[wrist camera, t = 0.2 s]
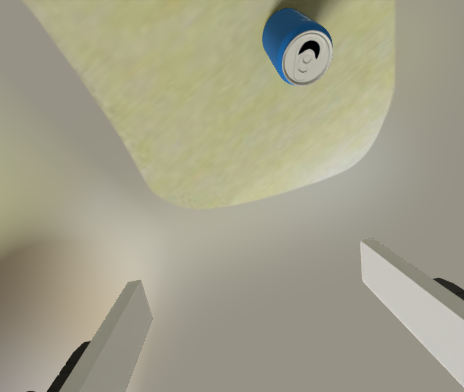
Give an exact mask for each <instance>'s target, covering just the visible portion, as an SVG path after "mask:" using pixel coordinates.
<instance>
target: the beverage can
mask: <svg viewBox="0 0 464 392" xmlns="http://www.w3.org/2000/svg"><path fill="white" fill-rule="evenodd" d="M262 41H263V47H264V49H265V51H266V53H267V55H268V56H269V58H270V60H271V61H272V63H273V65H274V67H275V68H276V70H277V72H278V73H279V75H280V76H281V78H282V79H283V80H284V81H285V82H287V83H289V84H291V85H296V86H306V85H310V84H312V83H314V82H316V81H317V80H319V79H320V78H321V77H322V76H323V75H324V74H325V72H326V71H327V69H328V68H329V66H330V63H331V60H332V55H333V46H332V39H331V37H330V34H329V33H328V31H327V30H326V29H325V28H324V27H323V26H321V25H319V24H318V23H316V22H315V21H313V20H312V19H310V18H309V17H307V16H305V15H304V14H302V13H301V12H299V11H298V10H296V9H293V8H284V9H281V10H279V11H277V12H276V13H274V14H273V15H272V16H271V17H270V18H269V20H268V21H267V23H266V25H265V27H264V30H263V36H262Z"/></svg>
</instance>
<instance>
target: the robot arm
mask: <svg viewBox="0 0 464 392" xmlns="http://www.w3.org/2000/svg"><path fill="white" fill-rule="evenodd" d="M360 244H361V266H362V281H363V282H364V283H365V284H366V285H367V286H368V288H369V289H370V290H371V291H372V292H373V293H374V294H375V295H376V296H377V297H378V298H379V299H380V300H381V301H382V302H383V303H384V304H385V305H386V306H387V307H388V308H389V310H391V312H392V313H393V314H394V315H395V316H396V317H397V318H398V319H399V320H400V321H401V322H402V323H403V324H404V325H405V326H406V327H407V328H408V330H409V331H410V332H411V333H412V334H413V335H414V336H415V337H416V338H417V339H418V340H419V341H420V342H421V343H422V344H423V345H424V346H425V347H426V348H427V349H428V350H429V351H430V353H431V354H432V355H433V356H434V357H435V358H436V359H437V360H438V361H439V362H440V363H441V364H442V365H443V366H444V367H445V368H446V369H447V370H448V371H449V372H450V373H451V375H452V376H453V377H454V378H456V380H457V381H458V382H459V383H460V384H461V385H462V386H463V387H464V290H463V289H461V288H460V287H458V286H457V285H455V284H454V283H451V282H449V281H446V280H444V279H441V278H435V279H432V278H430V277H429V276H427V275H426V274H425V273H423V272H422V271H420V270H419V269H417V268H416V267H414V266H413V265H412V264H410V263H409V262H407V261H406V260H404V259H403V258H401V257H400V256H398V255H397V254H395V253H394V252H393V251H391V250H390V249H388V248H387V247H385V246H384V245H383V244H381V243H380V242H378V241H377V240H375V239H374V238H370V239H365V240H360ZM152 319H153V318H152V315H151V311H150V308H149V305H148V301H147V298H146V295H145V292H144V288H143V285H142V282H141V280H137V281H132V282H128V283H127V285H126V286H125V288H124V289H123V291H122V293H121V294H120V296H119V297H118V299H117V301H116V302H115V304H114V305H113V307H112V308H111V310H110V312H109V313H108V315H107V316H106V318H105V320H104V321H103V323H102V324H101V326H100V328H99V329H98V331H97V332H96V334H95V336H94V337H93V339H92V340H91V341H89V342H84V343H83V344H82V345H81V346H80V347H78V348H77V350H76V351H74V352H73V354H72V355H71V357H70V358H69V360H68V361H67V362H66V365H65V366H64V367H63V368H62V370H61V371H60V374H59V375H58V376H57V377H56V379H55V380H54V382H53V383H52V385H51V386H50V388H49V389H48V390H47V392H125V391H126V389H127V386H128V383H129V381H130V378H131V375H132V373H133V370H134V367H135V365H136V362H137V359H138V357H139V354H140V351H141V349H142V346H143V343H144V341H145V338H146V335H147V332H148V330H149V327H150V324H151V322H152ZM28 392H34V391H28Z"/></svg>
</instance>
